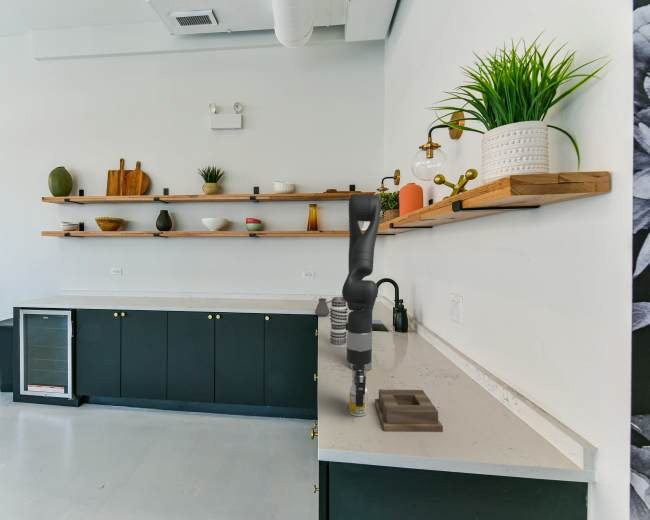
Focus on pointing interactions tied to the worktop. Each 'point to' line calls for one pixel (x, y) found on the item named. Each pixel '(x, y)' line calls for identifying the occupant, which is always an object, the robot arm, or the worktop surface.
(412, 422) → the bottle dock
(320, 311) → the coffee pot
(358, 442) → the worktop surface
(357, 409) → the supplement bottle
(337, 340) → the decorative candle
